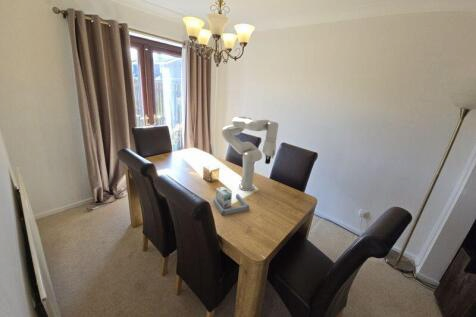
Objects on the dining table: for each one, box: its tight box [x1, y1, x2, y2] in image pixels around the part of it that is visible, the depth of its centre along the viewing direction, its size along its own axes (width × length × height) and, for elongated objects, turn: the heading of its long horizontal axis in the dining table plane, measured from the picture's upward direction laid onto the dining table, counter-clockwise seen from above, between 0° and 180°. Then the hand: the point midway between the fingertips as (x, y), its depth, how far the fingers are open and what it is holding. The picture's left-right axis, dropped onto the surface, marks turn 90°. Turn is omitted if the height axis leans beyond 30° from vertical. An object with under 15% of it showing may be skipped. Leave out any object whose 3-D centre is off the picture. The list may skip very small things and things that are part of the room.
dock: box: [212, 193, 250, 216], centre depth 141 cm, size 17×20×3 cm
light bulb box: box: [215, 186, 233, 209], centre depth 141 cm, size 11×7×11 cm, turn 38°
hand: (267, 163), depth 150 cm, fingers closed
